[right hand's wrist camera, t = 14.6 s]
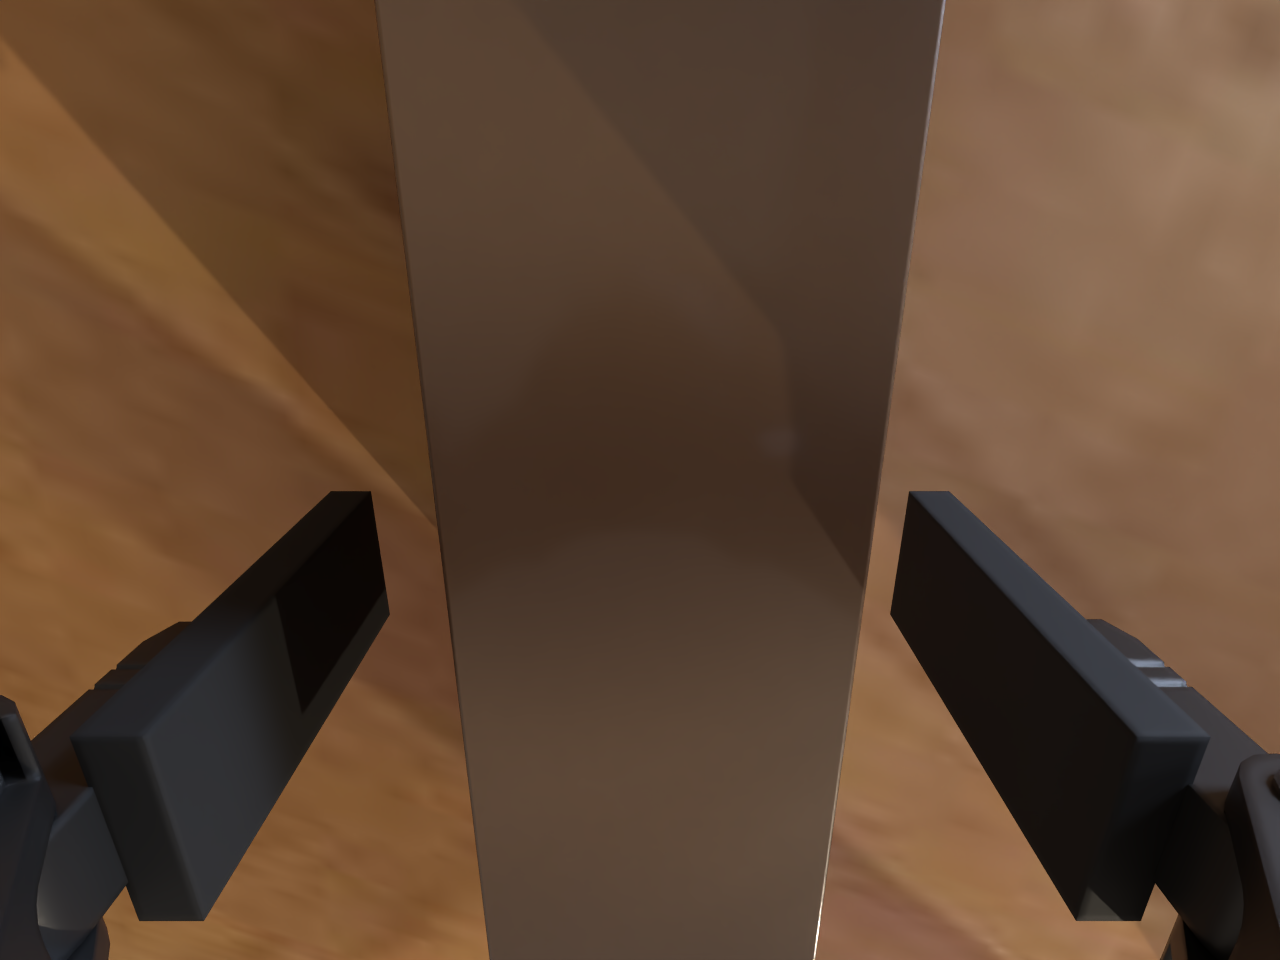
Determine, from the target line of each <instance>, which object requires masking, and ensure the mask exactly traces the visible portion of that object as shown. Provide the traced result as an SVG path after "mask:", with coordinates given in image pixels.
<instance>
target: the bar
mask: <svg viewBox="0 0 1280 960" xmlns="http://www.w3.org/2000/svg"><path fill="white" fill-rule="evenodd" d="M374 2H375V10H376V18H377V27H378V35H379V43H380V52H381V60H382V68H383V76H384V85H385V93H386V101H387V110H388V118H389V126H390V135H391V143H392V151H393V160H394V168H395V176H396V184H397V193H398V201H399V209H400V218H401V226H402V234H403V243H404V251H405V259H406V268H407V276H408V284H409V293H410V301H411V309H412V317H413V326H414V334H415V342H416V351H417V359H418V367H419V376H420V384H421V392H422V401H423V409H424V417H425V426H426V434H427V442H428V450H429V459H430V467H431V475H432V484H433V492H434V500H435V509H436V517H437V525H438V534H439V542H440V550H441V559H442V567H443V575H444V583H445V592H446V600H447V608H448V617H449V625H450V633H451V642H452V650H453V658H454V667H455V675H456V683H457V692H458V700H459V708H460V716H461V725H462V733H463V741H464V750H465V758H466V766H467V775H468V783H469V791H470V800H471V808H472V816H473V825H474V833H475V841H476V849H477V858H478V866H479V874H480V883H481V891H482V899H483V908H484V916H485V924H486V933H487V941H488V949H489V957H490V960H815V958H816V951H817V944H818V936H819V929H820V922H821V914H822V907H823V900H824V892H825V885H826V878H827V870H828V863H829V856H830V848H831V841H832V833H833V826H834V819H835V811H836V804H837V797H838V789H839V782H840V775H841V767H842V760H843V753H844V745H845V738H846V731H847V723H848V716H849V709H850V701H851V694H852V687H853V679H854V672H855V664H856V657H857V650H858V642H859V635H860V628H861V620H862V613H863V606H864V598H865V591H866V584H867V576H868V569H869V562H870V554H871V547H872V540H873V532H874V525H875V518H876V510H877V503H878V495H879V488H880V481H881V473H882V466H883V459H884V451H885V444H886V437H887V429H888V422H889V415H890V407H891V400H892V393H893V385H894V378H895V371H896V363H897V356H898V349H899V341H900V334H901V326H902V319H903V312H904V304H905V297H906V290H907V282H908V275H909V268H910V260H911V253H912V246H913V238H914V231H915V224H916V216H917V209H918V202H919V194H920V187H921V180H922V172H923V165H924V157H925V150H926V143H927V135H928V128H929V121H930V113H931V106H932V99H933V91H934V84H935V77H936V69H937V62H938V55H939V47H940V40H941V33H942V25H943V18H944V11H945V3H946V0H374Z"/></svg>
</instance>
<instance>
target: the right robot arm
mask: <svg viewBox="0 0 1280 960" xmlns="http://www.w3.org/2000/svg"><path fill="white" fill-rule="evenodd" d="M389 615H390V613H389V606H388V600H387V593H386V587H385V580H384V574H383V567H382V561H381V554H380V548H379V541H378V535H377V528H376V522H375V515H374V509H373V502H372V496H371V491H331V492H330V493H329V494H328V495H327V496H325V497H324V498H323V499H322V500H321V501H320V502H319V503H318V504H317V505H316V506H315V507H314V508H313V509H312V510H311V511H309V512H308V513H307V514H306V515H305V516H304V517H303V518H302V519H301V520H300V521H299V522H298V523H297V524H296V525H295V526H293V527H292V528H291V529H290V530H289V531H288V532H287V533H286V534H285V535H284V536H283V537H282V538H281V539H280V540H279V541H277V542H276V543H275V544H274V545H273V546H272V547H271V548H270V549H269V550H268V551H267V552H266V553H265V554H264V555H263V556H261V557H260V558H259V559H258V560H257V561H256V562H255V563H254V564H253V565H252V566H251V567H250V568H249V569H248V570H247V571H245V572H244V573H243V574H242V575H241V576H240V577H239V578H238V579H237V580H236V581H235V582H234V583H233V584H232V585H231V586H229V587H228V588H227V589H226V590H225V591H224V592H223V593H222V594H221V595H220V596H219V597H218V598H217V599H216V600H215V601H213V602H212V603H211V604H210V605H209V606H208V607H207V608H206V609H205V610H204V611H203V612H202V613H201V614H200V615H199V616H197V617H196V618H195V619H194V620H193V621H192V622H178V623H176V624H174V625H172V626H170V627H169V628H167V629H165V630H163V631H161V632H160V633H158V634H156V635H154V636H152V637H151V638H149V639H147V640H145V641H143V642H142V643H141V644H140V645H139V646H138V647H136V648H135V649H134V650H133V651H132V652H131V653H130V654H129V655H127V656H126V657H125V658H124V659H123V660H122V661H121V662H119V663H118V664H117V668H116V670H110V671H109V672H108V673H107V674H106V675H105V676H104V677H103V678H101V679H100V680H99V681H98V682H97V683H96V684H95V688H94V689H93V690H88V691H87V692H86V693H84V694H83V695H82V696H81V697H80V698H79V699H78V700H77V701H75V702H74V703H73V704H72V705H71V706H70V707H69V708H68V709H66V710H65V711H64V712H63V713H62V714H61V715H60V716H58V717H57V718H56V719H55V720H54V721H53V722H52V723H51V724H49V725H48V726H47V727H46V728H45V729H44V730H43V731H42V732H40V733H39V734H38V735H37V736H36V737H35V738H34V739H33V740H31V741H30V738H29V736H28V733H27V731H26V729H25V726H24V724H23V721H22V719H21V716H20V714H19V711H18V709H17V706H16V704H15V702H14V701H12V700H10V699H8V698H6V697H4V696H2V695H0V960H108V957H109V948H110V941H109V936H108V931H107V927H106V925H105V922H104V920H103V915H104V914H105V913H106V911H107V910H108V909H109V907H110V906H111V905H112V903H113V902H114V901H115V899H116V898H117V897H118V895H119V894H120V893H121V891H122V890H123V889H124V887H125V886H126V887H127V890H128V892H129V895H130V898H131V900H132V903H133V906H134V908H135V911H136V913H137V916H138V919H139V921H204V920H205V918H206V917H207V915H208V913H209V912H210V910H211V908H212V907H213V905H214V903H215V902H216V900H217V898H218V897H219V895H220V893H221V892H222V890H223V888H224V887H225V885H226V884H227V882H228V880H229V879H230V877H231V875H232V874H233V872H234V870H235V869H236V867H237V865H238V864H239V862H240V860H241V859H242V857H243V855H244V854H245V852H246V851H247V849H248V847H249V846H250V844H251V842H252V841H253V839H254V837H255V836H256V834H257V832H258V831H259V829H260V827H261V826H262V824H263V823H264V821H265V819H266V818H267V816H268V814H269V813H270V811H271V809H272V808H273V806H274V804H275V803H276V801H277V799H278V798H279V796H280V794H281V793H282V791H283V790H284V788H285V786H286V785H287V783H288V781H289V780H290V778H291V776H292V775H293V773H294V771H295V770H296V768H297V766H298V765H299V763H300V762H301V760H302V758H303V757H304V755H305V753H306V752H307V750H308V748H309V747H310V745H311V743H312V742H313V740H314V738H315V737H316V735H317V733H318V732H319V730H320V729H321V727H322V725H323V724H324V722H325V720H326V719H327V717H328V715H329V714H330V712H331V710H332V709H333V707H334V705H335V704H336V702H337V700H338V699H339V697H340V696H341V694H342V692H343V691H344V689H345V687H346V686H347V684H348V682H349V681H350V679H351V677H352V676H353V674H354V672H355V671H356V669H357V668H358V666H359V664H360V663H361V661H362V659H363V658H364V656H365V654H366V653H367V651H368V649H369V648H370V646H371V644H372V643H373V641H374V639H375V638H376V636H377V635H378V633H379V631H380V630H381V628H382V626H383V625H384V623H385V621H386V620H387V618H388V616H389ZM890 615H891V616H892V618H893V620H894V621H895V623H896V625H897V626H898V628H899V630H900V631H901V633H902V635H903V636H904V638H905V639H906V641H907V643H908V644H909V646H910V648H911V649H912V651H913V653H914V654H915V656H916V658H917V659H918V661H919V663H920V664H921V666H922V667H923V669H924V671H925V672H926V674H927V676H928V677H929V679H930V681H931V682H932V684H933V686H934V687H935V689H936V691H937V692H938V694H939V696H940V697H941V699H942V700H943V702H944V704H945V705H946V707H947V709H948V710H949V712H950V714H951V715H952V717H953V719H954V720H955V722H956V724H957V725H958V727H959V729H960V730H961V732H962V733H963V735H964V737H965V738H966V740H967V742H968V743H969V745H970V747H971V748H972V750H973V752H974V753H975V755H976V757H977V758H978V760H979V761H980V763H981V765H982V766H983V768H984V770H985V771H986V773H987V775H988V776H989V778H990V780H991V781H992V783H993V785H994V786H995V788H996V790H997V791H998V793H999V794H1000V796H1001V798H1002V799H1003V801H1004V803H1005V804H1006V806H1007V808H1008V809H1009V811H1010V813H1011V814H1012V816H1013V818H1014V819H1015V821H1016V822H1017V824H1018V826H1019V827H1020V829H1021V831H1022V832H1023V834H1024V836H1025V837H1026V839H1027V841H1028V842H1029V844H1030V846H1031V847H1032V849H1033V851H1034V852H1035V854H1036V855H1037V857H1038V859H1039V860H1040V862H1041V864H1042V865H1043V867H1044V869H1045V870H1046V872H1047V874H1048V875H1049V877H1050V879H1051V880H1052V882H1053V884H1054V885H1055V887H1056V888H1057V890H1058V892H1059V893H1060V895H1061V897H1062V898H1063V900H1064V902H1065V903H1066V905H1067V907H1068V908H1069V910H1070V912H1071V913H1072V915H1073V916H1074V918H1075V920H1076V921H1141V919H1142V916H1143V914H1144V911H1145V908H1146V906H1147V903H1148V900H1149V898H1150V895H1151V893H1152V890H1153V887H1154V885H1155V883H1156V885H1157V886H1158V887H1159V889H1160V890H1161V891H1162V893H1163V894H1164V895H1165V897H1166V898H1167V899H1168V901H1169V902H1170V903H1171V905H1172V906H1173V907H1174V909H1175V910H1176V911H1177V912H1178V914H1179V915H1178V917H1177V920H1176V922H1175V925H1174V927H1173V930H1172V932H1171V934H1170V937H1169V939H1168V942H1167V944H1166V947H1165V949H1164V952H1163V954H1162V956H1161V959H1160V960H1280V754H1268V753H1267V752H1265V751H1264V750H1263V749H1262V748H1261V747H1260V746H1259V745H1257V744H1256V743H1255V742H1254V741H1253V740H1252V739H1251V738H1249V737H1248V736H1247V735H1246V734H1245V733H1244V732H1243V731H1242V730H1240V729H1239V728H1238V727H1237V726H1236V725H1235V724H1234V723H1232V722H1231V721H1230V720H1229V719H1228V718H1227V717H1226V716H1224V715H1223V714H1222V713H1221V712H1220V711H1219V710H1218V709H1217V708H1215V707H1214V706H1213V705H1212V704H1211V703H1210V702H1209V701H1207V700H1206V699H1205V698H1204V697H1203V696H1202V695H1201V694H1199V693H1198V692H1197V691H1196V690H1195V689H1194V688H1193V687H1187V685H1186V681H1185V680H1184V679H1182V678H1181V677H1180V676H1179V675H1178V674H1177V673H1176V672H1174V671H1173V670H1172V669H1171V668H1170V667H1165V666H1164V662H1163V661H1162V660H1161V659H1160V658H1158V657H1157V656H1156V655H1155V654H1154V653H1153V652H1152V651H1151V650H1149V649H1148V648H1147V647H1146V646H1145V645H1144V644H1143V643H1141V642H1140V641H1139V640H1138V639H1136V638H1135V637H1133V636H1131V635H1129V634H1127V633H1125V632H1124V631H1122V630H1120V629H1118V628H1116V627H1114V626H1113V625H1111V624H1109V623H1107V622H1105V621H1104V620H1102V619H1085V618H1084V617H1083V616H1081V615H1080V614H1079V613H1078V612H1077V611H1076V610H1075V609H1074V608H1073V607H1072V606H1071V605H1070V604H1069V603H1068V602H1067V601H1065V600H1064V599H1063V598H1062V597H1061V596H1060V595H1059V594H1058V593H1057V592H1056V591H1055V590H1054V589H1053V588H1052V587H1051V586H1049V585H1048V584H1047V583H1046V582H1045V581H1044V580H1043V579H1042V578H1041V577H1040V576H1039V575H1038V574H1037V573H1036V572H1035V571H1033V570H1032V569H1031V568H1030V567H1029V566H1028V565H1027V564H1026V563H1025V562H1024V561H1023V560H1022V559H1021V558H1020V557H1019V556H1017V555H1016V554H1015V553H1014V552H1013V551H1012V550H1011V549H1010V548H1009V547H1008V546H1007V545H1006V544H1005V543H1004V542H1003V541H1001V540H1000V539H999V538H998V537H997V536H996V535H995V534H994V533H993V532H992V531H991V530H990V529H989V528H988V527H987V526H985V525H984V524H983V523H982V522H981V521H980V520H979V519H978V518H977V517H976V516H975V515H974V514H973V513H972V512H971V511H969V510H968V509H967V508H966V507H965V506H964V505H963V504H962V503H961V502H960V501H959V500H958V499H957V498H956V497H955V496H953V495H952V494H951V493H950V492H949V491H909V496H908V503H907V509H906V515H905V522H904V528H903V535H902V541H901V548H900V554H899V561H898V567H897V574H896V580H895V587H894V593H893V600H892V606H891V613H890Z"/></svg>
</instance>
